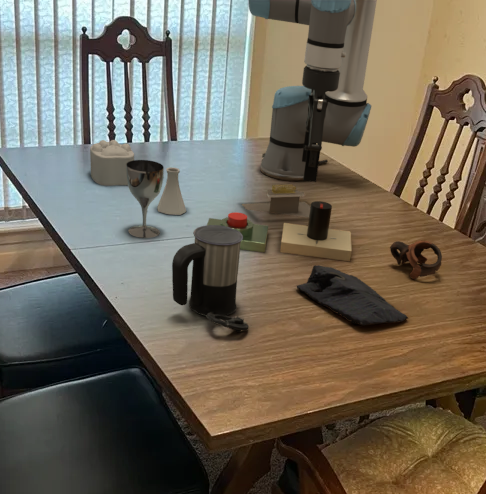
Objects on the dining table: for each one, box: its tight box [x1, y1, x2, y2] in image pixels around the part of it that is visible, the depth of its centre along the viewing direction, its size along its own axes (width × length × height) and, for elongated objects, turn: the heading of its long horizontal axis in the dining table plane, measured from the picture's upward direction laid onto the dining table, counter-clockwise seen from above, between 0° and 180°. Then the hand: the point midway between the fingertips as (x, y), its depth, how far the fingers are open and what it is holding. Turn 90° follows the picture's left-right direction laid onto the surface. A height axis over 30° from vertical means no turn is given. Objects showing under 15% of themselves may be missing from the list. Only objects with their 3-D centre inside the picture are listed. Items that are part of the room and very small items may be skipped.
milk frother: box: [171, 224, 250, 333], centre depth 141 cm, size 14×16×15 cm
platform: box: [241, 184, 311, 219], centre depth 194 cm, size 12×18×7 cm, turn 114°
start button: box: [227, 211, 248, 227], centre depth 174 cm, size 4×4×2 cm
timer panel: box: [279, 222, 353, 262], centre depth 178 cm, size 16×12×3 cm
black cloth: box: [296, 264, 409, 326], centre depth 155 cm, size 15×22×5 cm
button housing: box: [206, 216, 269, 253], centre depth 176 cm, size 14×11×4 cm
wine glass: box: [126, 159, 165, 239], centre depth 170 cm, size 8×8×15 cm
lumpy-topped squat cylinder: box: [89, 139, 135, 187], centre depth 199 cm, size 10×13×9 cm
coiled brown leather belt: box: [389, 240, 443, 280], centre depth 173 cm, size 12×10×8 cm
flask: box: [156, 166, 187, 216], centre depth 184 cm, size 7×7×10 cm
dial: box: [307, 200, 333, 240], centre depth 175 cm, size 5×5×8 cm
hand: (308, 171), depth 169 cm, fingers open, 13 cm apart
